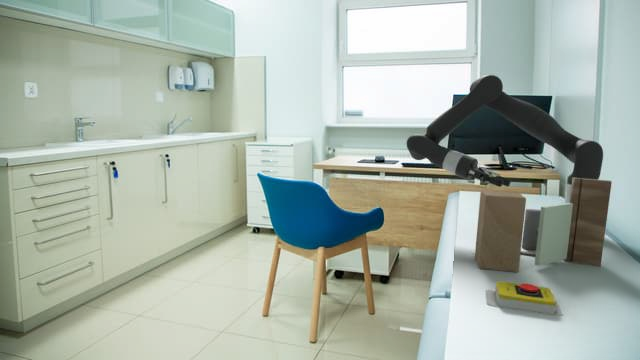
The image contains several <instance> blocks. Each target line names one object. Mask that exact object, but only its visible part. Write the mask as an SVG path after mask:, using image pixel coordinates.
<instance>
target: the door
mask: <svg viewBox="0 0 640 360" xmlns="http://www.w3.org/2000/svg"><path fill="white" fill-rule="evenodd" d="M572 209H573V203H565V202H564V203H559V204H552V205H551V204H550V205H546V206H545V205H544V206H540V210H541V211H540V220H539V228H538V229H537V231H536V235H538V238H537V247H536V251H535V253H536V256H534V266H537V267H541V266H545V265H548V264H553V263H555V262H559V261H563V260H564V259H567V250H568V242H569V234H570V226H571V217H572Z"/></svg>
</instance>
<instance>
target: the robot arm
mask: <svg viewBox="0 0 640 360" xmlns="http://www.w3.org/2000/svg"><path fill="white" fill-rule="evenodd" d="M503 86H504V85H503V82H502V79H501V78H500V77H499V76H497V75H494V74H487V75H482V76H480V77H479V78H477V79H475V80H474V81H473V82H472V83H471V84H470V86H469V93H468V94H466V95H465V96H464V97H463V98H462V99H460V101H458V102H457V103H455V104H454V105H453V106H451V107H450V108H448V109H447V110H446V111H444V112H443V113H441V114H440V115H439V116H438V117H437V118H436V119H434V121H432V122H431V123H430V124H428V126H427V128H426V130H425V131H426V133H425V134H423V135H422V134H419V133H415V134H412V135H409V137H408V138H407V140H406V148H407V150H408V152H409V154H410V156H411V157H412V159H413V160H415V161H423V160H425V159H427V160H428V161H429V162H430V163H431V164H432V165H434V166H435V167H439V168H440V169H443V170H445V171H446V172H448V173H450V174H452V175H455V176H457V177H458V178H462V179H465V180H466V181H468V180H471V179H472V178H474V179H476V180H479V181H480V182H483V183H488V184H491V185H494V186H496V187H499V188H500V187H502V186H505V187H510V185H511V183H512V181H511V179H508V178H506V177H503V176H501V174H499V173H497V172H495V171H493V170H490V169H487V168H486V167H483V166H482V167H481V166H479V167H478V164H479V160H478V159H477V158H475V157H472V156H471V155H467V154H465V153H462V152H459V151H456V150H453V149H450V148H448V147H445V146H443V145H440V144H441V141H442V140H444V139H445V138H446V137H447V136H449V135H450V134H451V133H452V132H453V131H454V130H456V129H457V128H458V127H459V126H460V125H461V124H462V123H464V121H466V120H467V119H468V118H469V117H471V116H472V114H474V113H476V112H477V111H478V110H480V109H481V108H482V107H484V106H485V107H486V108H488V109H489V110H492V111H494V112H496V113H498V114H499V115H501V116H502V117H503V118H505V119H506V120H507V121H509V122H511V123H512V124H514V125H515V126H516V127H518V128H520V129H521V130H522V131H524V132H526V133H527V134H529V135H530V136H532V137H534V138H535V139H537V140H539V141H541V142H542V143H544V144H546V145H548V146H550V147H551V148H553V149H555V150H556V151H557V152H559V153H560V154H561V155H562V156H564V158H566V159H567V160H568V161H570V163H573V170H572V173H571V174H569V175H567V179H566V186H565V187H566V189H565V195H564V196H565V197H564V203H570V195H571V186H572V178H585V179H597V180H600V176H601V171H602V166H603V161H604V149H603V147H602V146H601V144H600V143H599V142H597V141H594V140H589V139H583V138H580V137H578V136H576V135H574V134H572V133H570V132H569V131H567V130H566V129H564V127H562V125H560V123H559V122H558V121H557V120H556V119H555V118H554V117H553V116H552V115H550V114H549V113H548V112H546V111H545V110H543V109H542V108H540V107H538V106H536V105H534V104H532V103H529V102H528V101H525V100H521V99H519V98H516V97H513V96H511V95H510V94H508V93H506V92H504V91H503V89H504V87H503Z"/></svg>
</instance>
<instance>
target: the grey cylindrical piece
mask: <svg viewBox="0 0 640 360" xmlns="http://www.w3.org/2000/svg"><path fill="white" fill-rule="evenodd" d="M540 211H541V209H535V208H525V215H524V224H523V234H522V243H521V249H524V250H526V251H533V252H534V251H535V252H536V247H537V238H538V235H536V231H537V229H538V228H539V220H540Z"/></svg>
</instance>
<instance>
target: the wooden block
mask: <svg viewBox="0 0 640 360" xmlns="http://www.w3.org/2000/svg"><path fill="white" fill-rule="evenodd" d="M526 202H527V198H526V196H523V194H521V193H520V192H518V191H511V190H509V191H508V190H497V189H496V190H495V189H481V190H480V196H479V205H478V218H477V227H476V228H477V229H476V239H475V240H476V241H475V251H474V258H475V262H476V264H477V267H478V268H479V269H481V270H492V271H499V272H500V271H501V272H512V273H519V271H520V270H519V269H520V262H521V261H520V259H521V254H520V253H521V251H522V250H521V249H522V240H523V231H524V221H525V212H526V204H527V203H526Z"/></svg>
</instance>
